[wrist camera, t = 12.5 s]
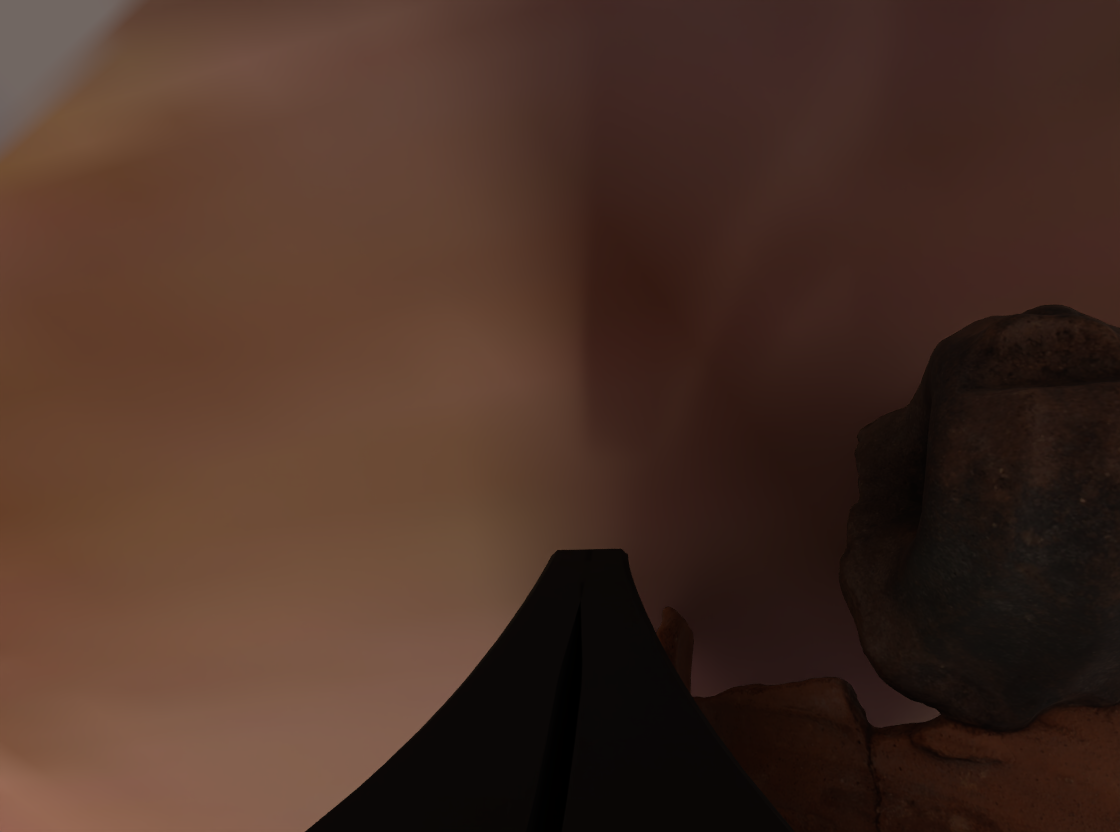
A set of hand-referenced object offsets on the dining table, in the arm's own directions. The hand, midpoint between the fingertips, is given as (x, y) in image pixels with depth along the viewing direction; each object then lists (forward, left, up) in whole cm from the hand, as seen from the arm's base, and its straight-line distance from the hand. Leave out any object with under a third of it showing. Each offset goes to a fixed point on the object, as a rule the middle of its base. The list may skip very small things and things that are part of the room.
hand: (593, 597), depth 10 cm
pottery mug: (-1, -6, -3) cm, 6 cm away
